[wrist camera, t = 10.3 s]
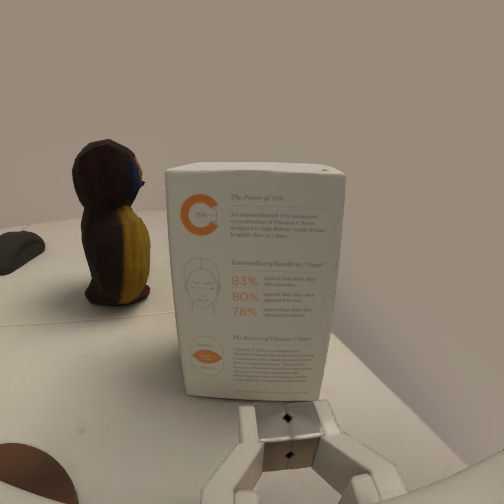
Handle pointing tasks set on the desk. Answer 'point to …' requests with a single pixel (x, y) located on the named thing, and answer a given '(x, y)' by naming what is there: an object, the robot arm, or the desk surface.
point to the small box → (254, 275)
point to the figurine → (112, 223)
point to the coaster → (35, 473)
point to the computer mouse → (18, 249)
